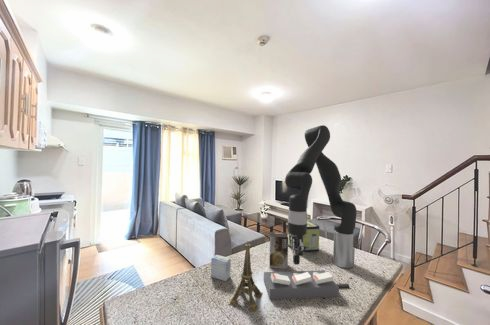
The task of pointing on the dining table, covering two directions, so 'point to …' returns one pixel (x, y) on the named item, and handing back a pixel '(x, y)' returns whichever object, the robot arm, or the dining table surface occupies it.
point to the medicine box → (220, 267)
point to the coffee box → (278, 250)
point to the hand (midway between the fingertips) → (296, 263)
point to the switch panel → (300, 287)
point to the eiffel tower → (247, 283)
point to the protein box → (310, 238)
